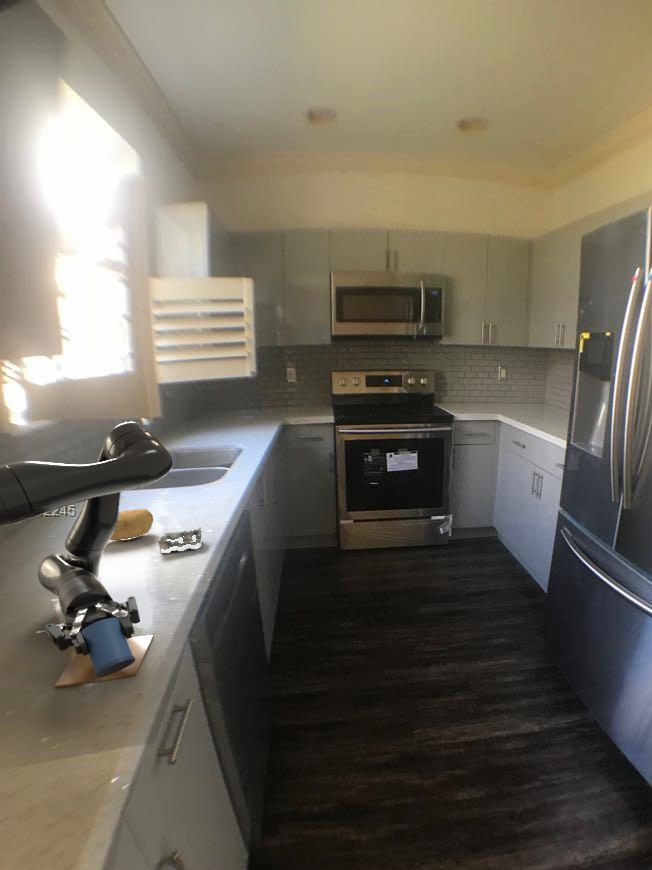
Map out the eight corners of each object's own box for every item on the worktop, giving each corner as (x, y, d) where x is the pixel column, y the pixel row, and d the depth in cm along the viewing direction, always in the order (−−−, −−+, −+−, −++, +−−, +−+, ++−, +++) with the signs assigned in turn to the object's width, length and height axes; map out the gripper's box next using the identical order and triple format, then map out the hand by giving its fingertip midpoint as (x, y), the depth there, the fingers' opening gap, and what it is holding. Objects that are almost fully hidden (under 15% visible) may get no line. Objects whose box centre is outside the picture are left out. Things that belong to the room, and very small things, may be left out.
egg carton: (158, 556, 118) (154, 541, 116) (163, 544, 124) (160, 530, 123) (202, 550, 120) (199, 535, 119) (204, 539, 127) (202, 525, 125)
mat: (54, 687, 72) (54, 685, 72) (82, 646, 82) (82, 644, 82) (136, 675, 74) (135, 673, 74) (153, 636, 85) (153, 634, 84)
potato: (101, 538, 130) (94, 512, 127) (155, 528, 136) (150, 503, 133) (99, 551, 122) (92, 523, 119) (157, 539, 127) (151, 513, 125)
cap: (87, 678, 69) (71, 634, 71) (108, 677, 75) (93, 636, 77) (123, 658, 70) (107, 615, 72) (142, 658, 76) (126, 618, 78)
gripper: (31, 598, 79) (46, 640, 67) (123, 570, 87) (150, 603, 76) (44, 634, 81) (60, 682, 69) (132, 604, 90) (159, 642, 78)
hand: (107, 641), depth 72 cm, fingers open, 5 cm apart
